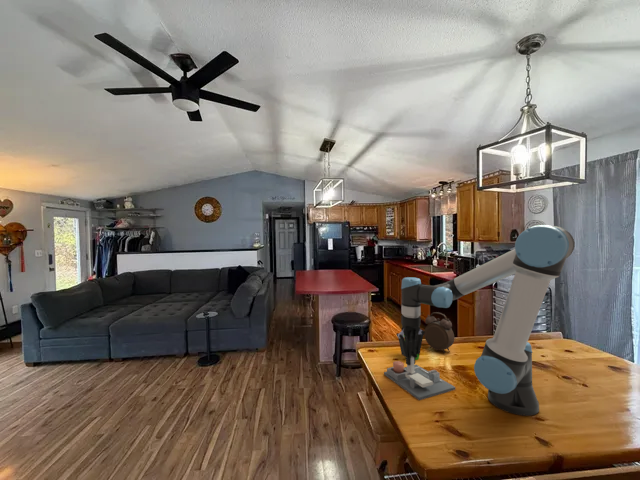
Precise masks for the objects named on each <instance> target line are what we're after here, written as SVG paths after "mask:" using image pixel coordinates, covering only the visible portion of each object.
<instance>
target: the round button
mask: <svg viewBox="0 0 640 480" xmlns="http://www.w3.org/2000/svg"><path fill="white" fill-rule="evenodd" d="M404 365H405V363H404V362H403V361H400V360H397V361H396V360H395V361H392V367H393V371H394V372H395V373H398V374H400V373H404V367H405V366H404Z"/></svg>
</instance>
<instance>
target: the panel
mask: <svg viewBox="0 0 640 480" xmlns="http://www.w3.org/2000/svg"><path fill="white" fill-rule="evenodd" d="M414 371H415V372H417V373H419V374H420V375H422V376H424V377H426V378H427V379H429V375H428V371H429V370H427V369H424V368H423V367H421V366H419V365H418V364H414ZM406 373H410V372H408V371H407V366H404V373H400V374H398V373H395V372H394V371H393V366H392V367H387V368H386V371H384V372H383V375H384V376H386V377H387V378H388V379H389V380H391V381H392V382H393V383H395V385H397V386H399V387H401V388H402V389H403V390H405V391H406V392H407V393H408V394H410V395H411V396H413V398H415V399H417V400H418V401H422V400H426V399H428V398H432V397H435V396H438V395H442V394H445V393H449V392H452V391H456V386H454V385H453V384H451V383H449V382H447V381H446V380H443V379H442V378H440V382H436V383H433V385H430V386H426V387H421V386H419V385H418V384H416V383H415V381H414V379H413V378H410V379H408V378H407V377H405V374H406Z"/></svg>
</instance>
